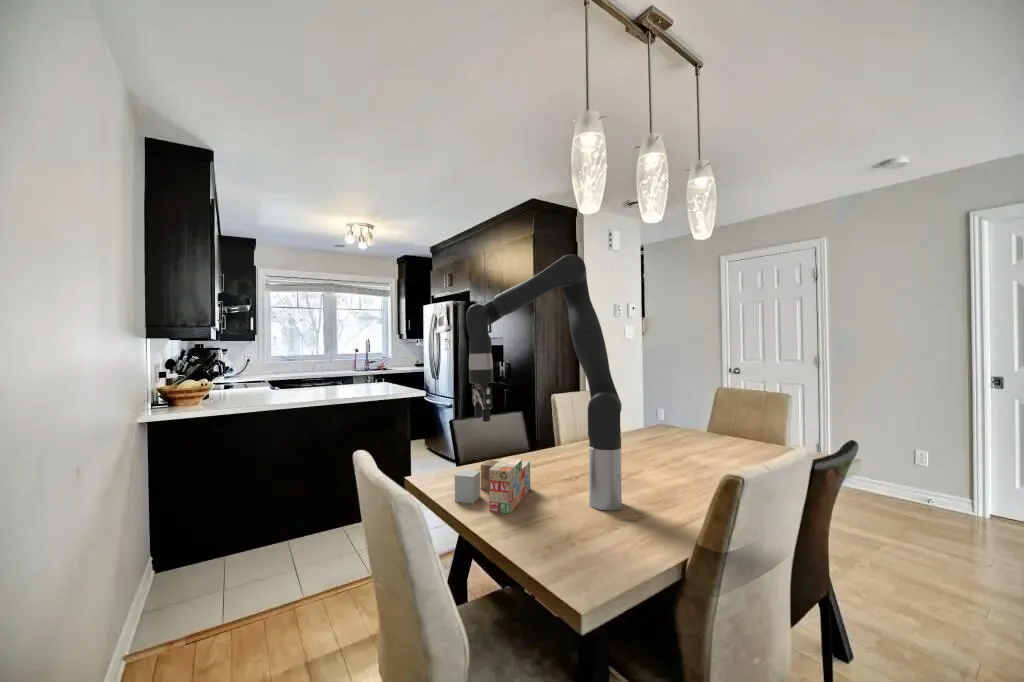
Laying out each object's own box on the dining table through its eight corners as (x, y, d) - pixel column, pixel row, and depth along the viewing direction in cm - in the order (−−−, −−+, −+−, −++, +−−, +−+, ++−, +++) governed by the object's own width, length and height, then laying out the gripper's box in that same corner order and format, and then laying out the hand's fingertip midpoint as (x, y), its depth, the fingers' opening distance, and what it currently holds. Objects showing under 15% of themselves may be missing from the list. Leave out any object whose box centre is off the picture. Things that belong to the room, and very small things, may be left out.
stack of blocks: (512, 487, 139) (512, 450, 139) (530, 489, 137) (530, 451, 137) (488, 512, 119) (488, 468, 119) (509, 514, 117) (509, 470, 117)
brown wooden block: (503, 485, 141) (503, 461, 141) (498, 491, 135) (498, 466, 135) (486, 483, 142) (486, 460, 142) (480, 489, 137) (480, 465, 137)
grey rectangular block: (480, 496, 130) (480, 470, 130) (473, 503, 125) (473, 476, 125) (462, 494, 132) (462, 469, 132) (454, 501, 126) (454, 475, 126)
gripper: (499, 368, 126) (501, 421, 126) (485, 366, 140) (486, 415, 139) (475, 369, 124) (477, 424, 123) (463, 367, 137) (465, 417, 137)
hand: (482, 419), depth 131 cm, fingers open, 8 cm apart
